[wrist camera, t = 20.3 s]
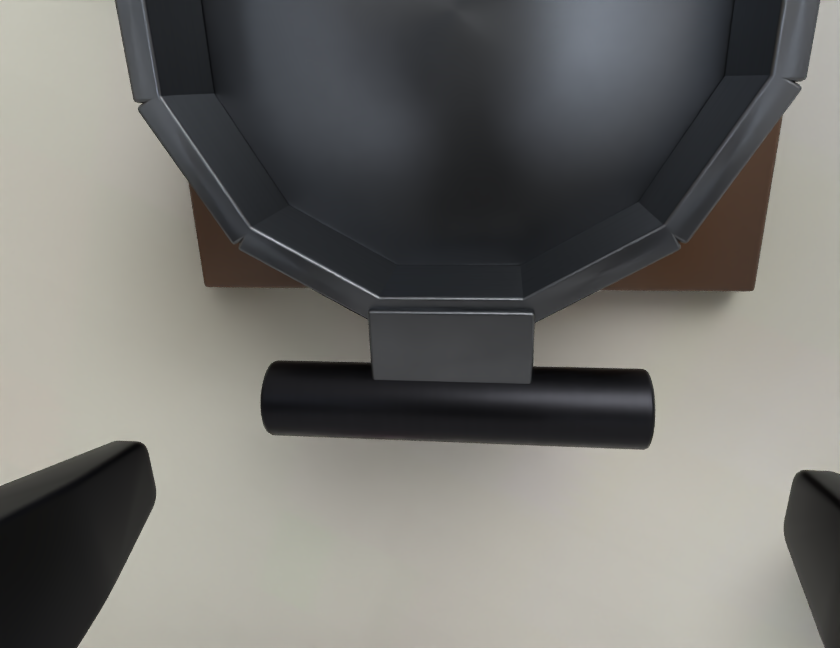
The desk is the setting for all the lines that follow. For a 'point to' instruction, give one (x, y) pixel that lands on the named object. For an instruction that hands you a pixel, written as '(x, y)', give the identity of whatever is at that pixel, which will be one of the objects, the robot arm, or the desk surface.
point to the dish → (462, 181)
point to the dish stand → (680, 271)
